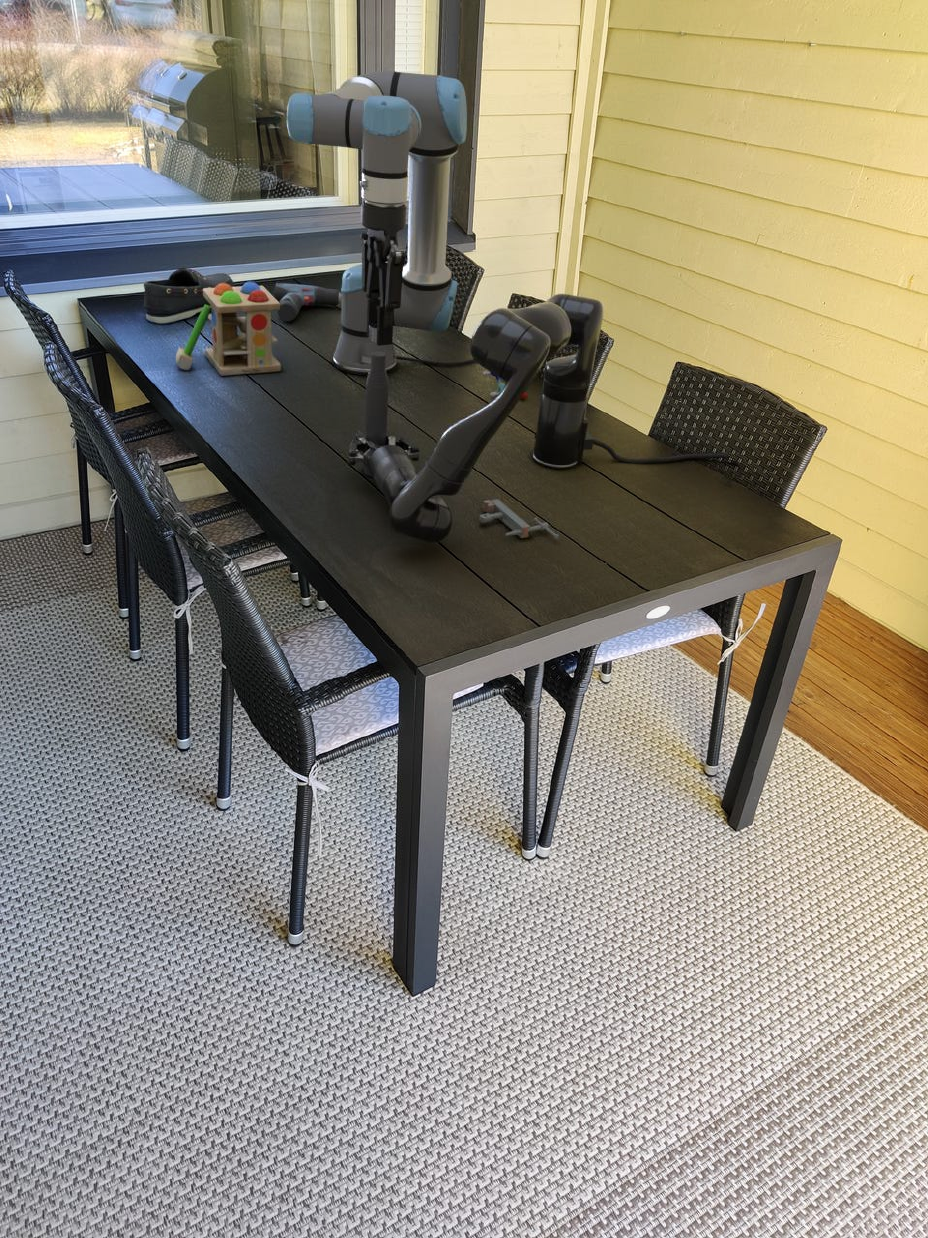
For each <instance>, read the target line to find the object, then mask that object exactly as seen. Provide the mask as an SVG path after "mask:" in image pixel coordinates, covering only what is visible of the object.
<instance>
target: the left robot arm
mask: <svg viewBox="0 0 928 1238" xmlns="http://www.w3.org/2000/svg"><path fill="white" fill-rule="evenodd" d="M467 108H468V107H467V98H466V91H465V87H464V85H463V83H462V82H461V81H460V80H459V79H457V78H454V77H453V78H452V77H447V76H443V75H441V74H438V75H435V74H426V73H425V74H424V73H414V72H402V71H395V70H379V71H373V72H368V73H364V74H360V75H356V76H353V77H349V78H348V79H346V80H345V81H344V82H343V83H342V84H341V86H340V87H339V88H336V89H333V90H331V91H328V92H326V93H325V92H324V93H321V94H311V93H310V92H306V93H299V92H298V93H297V92H296V93H295V92H294V93H293V94H292V95H291V96H290V97H289V100H288V102H287V109H286V126H287V132H288V136H289V137H290V139H291V140H292V141H293V142H297V143H303V144H307V145H309V146H310V145H318V146H327V147H328V146H329V147H338V148H339V147H340V148H348V149H353V150H362V160H361V161H362V167H361V180H360V181H359V186H360V188H361V198H362V200H363V201H362V202H361V204H360V223H361V225H362V227H364V228H365V229H368V230H367V232H361V233H360V242H361V264H356V265H353V266H351V267H348V268H346V270H345V271H344V272H343V274H342V277H341V278H342V281H341V287H340V293H341V294H342V302H341V316H340V317H341V319H340V321H341V324H340V325H341V326H340V329H341V330H340V336H339V338H338V341H337V344H336V348H335V350H334V352H333V361H332V362H333V363H332V364H333V366H334V367H335V368H337V369H338V370H339V371H342V372H344V373H347V374H352V375H356V376H368V375H369V372H370V369H371V353H372V352H376V351H378V352H384V353H385V354H386V362H385V370H386V373H387V374H389V373H391V372H393V371H395V369H396V368H397V361H398V360H399V361H406V362H414V363H420V364H427V365H432V366H460V365H466V364H471V363H475V362H476V361H475V360H474V358H471V359H466V360H461V361H433V360H427V359H420V358H414V357H413V358H412V357H406V356H399V355H397V354H396V352H395V347H394V343H393V338H394V337H393V336H394V327H397V328H398V327H399V328H405V329H414V330H422V331H427V332H432V331H433V332H444V331H446V330H447V329H448V328H449V325H450V323H451V318H452V314H453V310H454V305H455V300H456V296H457V290H458V283H459V282H458V281H456V280H455V279H452V271H451V269H450V268H449V267H448V266H447V265H446V259H447V239H448V238H447V235H448V217H449V215H448V214H449V197H450V196H449V195H450V194H449V193H450V176H451V175H450V174H451V172H450V170H451V159H452V158H453V157H454V156H455V155H456V154H457V153H458V151H459V145H461V144H464V143H465V142H466V138H467V132H468V131H467V130H468V126H467V122H468V110H467ZM407 201H408V212H407V206H406V204H405V203H406V202H407ZM407 213H408V214H407ZM407 215H408V217H407ZM407 219H408V221H407ZM406 224H407V225H406ZM406 226H408V227H407V254H406V252H405V250H403V251H402V250H400V249H399V240H398V239H399V238H398V232H399V231H402V230H404V229H405V227H406ZM406 255H407V263H405V260H406ZM373 322H377V343H374V342H371V341H370V340H369V324H370V323H373Z"/></svg>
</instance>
